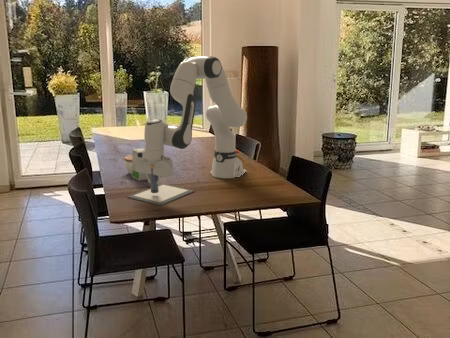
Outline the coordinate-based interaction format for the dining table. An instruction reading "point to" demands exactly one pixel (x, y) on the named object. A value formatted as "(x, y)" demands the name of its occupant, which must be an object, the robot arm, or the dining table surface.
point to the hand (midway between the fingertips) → (154, 183)
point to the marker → (154, 181)
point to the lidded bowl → (128, 163)
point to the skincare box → (135, 173)
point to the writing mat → (161, 194)
